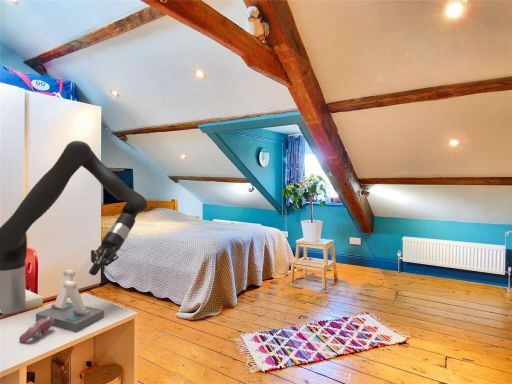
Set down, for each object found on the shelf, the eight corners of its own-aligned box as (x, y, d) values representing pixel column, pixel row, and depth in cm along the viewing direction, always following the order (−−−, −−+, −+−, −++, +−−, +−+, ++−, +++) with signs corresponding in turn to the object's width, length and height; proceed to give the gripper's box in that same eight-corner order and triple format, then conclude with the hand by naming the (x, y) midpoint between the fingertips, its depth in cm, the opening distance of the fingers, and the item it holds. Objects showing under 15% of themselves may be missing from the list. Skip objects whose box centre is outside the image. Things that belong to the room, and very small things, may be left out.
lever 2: (75, 314, 117) (62, 283, 111) (80, 309, 119) (67, 279, 113) (83, 316, 116) (69, 284, 110) (88, 311, 118) (75, 280, 112)
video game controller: (27, 348, 102) (35, 331, 101) (16, 341, 103) (24, 323, 102) (52, 333, 112) (59, 317, 111) (42, 326, 113) (49, 310, 112)
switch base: (35, 321, 117) (35, 309, 117) (65, 308, 128) (65, 297, 128) (76, 332, 110) (76, 319, 110) (103, 317, 121) (103, 306, 121)
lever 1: (52, 307, 120) (64, 268, 124) (58, 307, 122) (69, 269, 126) (59, 309, 119) (71, 270, 123) (65, 309, 121) (76, 270, 125)
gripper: (98, 229, 131) (72, 267, 120) (124, 232, 126) (99, 271, 116) (109, 240, 136) (84, 276, 125) (133, 243, 131) (110, 281, 121)
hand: (91, 274), depth 121 cm, fingers closed
